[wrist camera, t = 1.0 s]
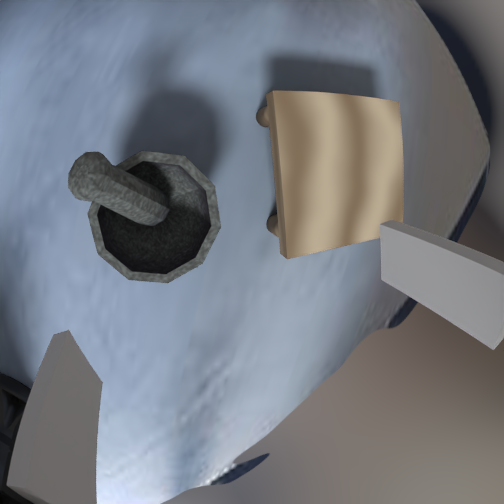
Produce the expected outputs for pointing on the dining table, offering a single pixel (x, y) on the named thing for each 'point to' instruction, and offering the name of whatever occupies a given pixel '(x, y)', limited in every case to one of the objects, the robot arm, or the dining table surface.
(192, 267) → the mortar and pestle
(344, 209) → the oak footstool
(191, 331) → the dining table surface
